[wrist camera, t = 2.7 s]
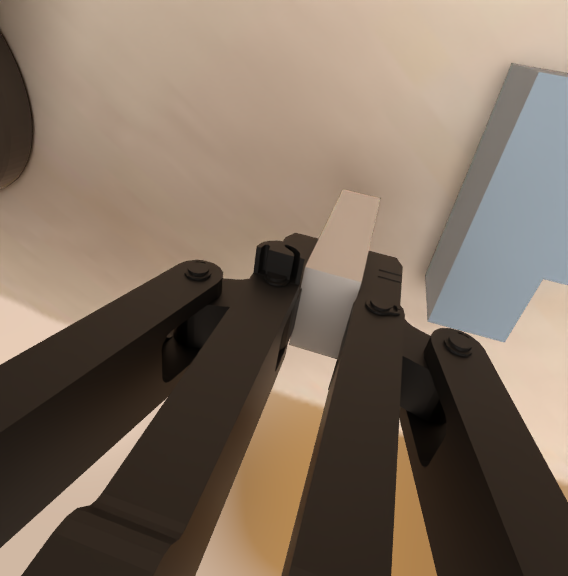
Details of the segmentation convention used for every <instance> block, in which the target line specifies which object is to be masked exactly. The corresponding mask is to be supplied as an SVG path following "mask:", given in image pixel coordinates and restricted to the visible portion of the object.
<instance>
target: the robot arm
mask: <svg viewBox="0 0 568 576" xmlns="http://www.w3.org/2000/svg"><path fill="white" fill-rule="evenodd" d="M31 143H32V120H31V112H30V106H29V101H28V97H27V93H26V90H25V86H24V83H23V80H22V77H21V74H20V72H19V69H18V67H17V64H16V62H15V60H14V58H13V56H12V54H11V52H10V50H9V48H8V46H7V44H6V42H5V40H4V38H3V37H2V35H1V33H0V189H2V188H4V187H6V186H8V185H10V184H11V183H12V182H14V181H15V180H16V179H17V178H18V177H19V175H20V174H21V173H22V171H23V169H24V168H25V166H26V163H27V161H28V158H29V154H30V150H31ZM380 199H381V198H378V197H374V196H370V195H366V194H361V193H357V192H353V191H349V190H345V189H343V190H342V192H341V194H340V196H339V198H338V200H337V203H336V205H335V207H334V209H333V211H332V213H331V215H330V217H329V219H328V221H327V223H326V225H325V227H324V229H323V231H322V233H321V235H320V237H319V239H317V238H313V237H310V236H306V235H302V234H298V233H294V234H292V235H290V236H287V237H286V238H285V239H284V241H267V242H263V243H261V244H259V245H258V246H257V249H256V257H255V265H254V273H253V274H252V276H251V277H250V278H249V279H244V280H235V279H223V272H222V270H221V268H220V267H218V266H217V265H215V264H214V263H211V262H207V261H203V260H192V261H186V262H183V263H180V264H178V265H176V266H175V267H173V268H171V269H169V270H167V271H166V272H164V273H162V274H160V275H159V276H157V277H155V278H153V279H152V280H150V281H148V282H146V283H144V284H143V285H141V286H139V287H137V288H136V289H134V290H132V291H130V292H129V293H127V294H125V295H123V296H121V297H120V298H118V299H116V300H114V301H113V302H111V303H109V304H107V305H105V306H104V307H102V308H100V309H98V310H97V311H95V312H93V313H91V314H90V315H88V316H86V317H84V318H82V319H81V320H79V321H77V322H75V323H74V324H72V325H70V326H68V327H67V328H65V329H63V330H61V331H60V332H58V333H56V334H54V335H52V336H51V337H49V338H47V339H46V340H44V341H42V342H40V343H38V344H37V345H35V346H33V347H31V348H29V349H28V350H26V351H24V352H22V353H20V354H19V355H17V356H15V357H13V358H12V359H10V360H8V361H6V362H5V363H3V364H1V365H0V548H1V547H2V546H3V545H4V544H5V543H6V542H7V541H9V540H10V539H11V538H12V537H13V536H14V535H15V534H16V533H17V532H19V531H20V530H21V529H22V528H23V527H24V526H25V525H26V524H27V523H29V522H30V521H31V520H32V519H33V518H34V517H35V516H36V515H37V514H38V513H40V512H41V511H42V510H43V509H44V508H45V507H46V506H47V505H48V504H50V503H51V502H52V501H53V500H54V499H55V498H56V497H57V496H58V495H60V494H61V493H62V492H63V491H64V490H65V489H66V488H67V487H68V486H70V484H72V483H73V482H74V481H75V480H76V479H77V478H78V477H79V476H81V475H82V474H83V473H84V472H85V471H86V470H87V469H88V468H90V467H91V466H92V465H93V464H94V463H95V462H96V461H97V460H98V459H99V458H100V457H102V456H103V455H104V454H105V453H106V452H107V451H108V450H109V449H110V448H112V447H113V446H114V445H115V444H116V443H117V442H118V441H119V440H121V438H123V437H124V436H125V435H126V434H127V433H128V432H129V431H131V430H132V429H133V428H134V427H135V426H136V425H137V424H138V423H139V422H141V421H142V420H143V419H144V418H145V417H146V416H147V415H148V414H149V413H151V412H152V411H153V410H154V409H155V408H156V407H157V406H158V405H159V404H160V403H162V402H163V401H164V400H165V399H166V398H167V397H168V398H167V399H166V401H165V402H164V404H163V405H162V406H161V408H160V409H159V411H158V412H157V414H156V415H155V417H154V418H153V420H152V421H151V422H150V424H149V425H148V427H147V429H146V430H145V431H144V433H143V434H142V436H141V437H140V439H139V440H138V441H137V443H136V444H135V446H134V447H133V449H132V450H131V452H130V453H129V455H128V456H127V458H126V459H125V460H124V462H123V463H122V465H121V466H120V468H119V469H118V471H117V472H116V474H115V475H114V476H113V478H112V479H111V481H110V482H109V484H108V485H107V487H106V488H105V490H104V491H103V492H102V494H101V495H100V496H99V498H98V499H97V500H96V501H95V502H93V503H92V504H91V505H90V506H85V507H80V508H77V509H76V510H74V511H73V512H72V513H71V514H69V515H68V516H67V517H66V518H65V519H64V520H63V521H62V522H61V524H60V525H59V526H58V527H57V528H56V529H55V531H54V532H53V533H52V535H51V536H50V537H49V539H48V540H47V541H46V543H45V544H44V546H43V547H42V548H41V549H40V551H39V552H38V554H37V555H36V556H35V558H34V559H33V560H32V562H31V563H30V564H29V566H28V567H27V569H26V570H25V571H24V573H23V574H22V575H21V576H195V575H196V572H197V570H198V568H199V565H200V563H201V560H202V558H203V555H204V553H205V550H206V548H207V546H208V543H209V541H210V538H211V536H212V533H213V531H214V528H215V526H216V523H217V521H218V519H219V516H220V514H221V511H222V509H223V507H224V504H225V501H226V499H227V497H228V494H229V492H230V489H231V487H232V485H233V482H234V479H235V477H236V475H237V472H238V470H239V467H240V465H241V462H242V460H243V457H244V455H245V453H246V450H247V448H248V445H249V443H250V441H251V438H252V436H253V433H254V431H255V428H256V426H257V424H258V421H259V418H260V416H261V413H262V411H263V409H264V406H265V404H266V401H267V399H268V396H269V394H270V392H271V389H272V387H273V384H274V382H275V380H276V377H277V375H278V372H279V370H280V367H281V365H282V362H283V360H284V358H285V354H286V349H287V344H288V341H289V339H290V343H289V345H292V346H295V347H299V348H302V349H305V350H309V351H312V352H315V353H318V354H322V355H325V356H328V357H332V358H335V359H337V362H336V365H335V368H334V372H333V375H332V378H331V382H330V385H329V388H328V390H329V391H328V395H327V399H326V403H325V407H324V411H323V415H322V419H321V423H320V427H319V431H318V434H317V439H316V443H315V446H314V450H313V454H312V458H311V462H310V466H309V470H308V474H307V478H306V482H305V486H304V489H303V493H302V497H301V501H300V505H299V509H298V513H297V517H296V521H295V525H294V529H293V532H292V536H291V541H290V544H289V548H288V552H287V556H286V560H285V564H284V568H283V572H282V576H391V567H392V547H393V528H394V510H395V509H394V508H395V490H396V471H397V452H398V433H399V418H400V422H401V427H402V431H403V435H404V439H405V443H406V447H407V451H408V455H409V460H410V464H411V468H412V472H413V476H414V481H415V485H416V489H417V493H418V497H419V501H420V505H421V509H422V514H423V518H424V522H425V526H426V531H427V535H428V539H429V543H430V547H431V551H432V555H433V560H434V564H435V568H436V572H437V576H568V502H567V500H566V498H565V496H564V495H563V493H562V491H561V489H560V487H559V485H558V483H557V482H556V480H555V478H554V476H553V474H552V472H551V470H550V469H549V467H548V465H547V463H546V461H545V459H544V458H543V456H542V454H541V452H540V450H539V448H538V447H537V445H536V443H535V441H534V439H533V437H532V436H531V434H530V432H529V430H528V428H527V426H526V425H525V423H524V421H523V419H522V417H521V415H520V414H519V412H518V410H517V408H516V406H515V404H514V403H513V401H512V399H511V397H510V395H509V393H508V392H507V390H506V388H505V386H504V384H503V382H502V381H501V379H500V377H499V375H498V373H497V371H496V370H495V368H494V366H493V364H492V362H491V360H490V359H489V357H488V355H487V353H486V351H485V349H484V348H483V347H482V346H481V344H480V343H479V342H478V341H476V340H475V339H474V338H473V337H471V336H470V335H468V334H466V333H464V332H461V331H459V330H454V329H451V328H440V329H437V330H435V331H434V332H433V333H432V335H431V336H430V335H428V334H426V333H424V332H422V331H420V330H418V329H416V328H415V327H413V326H412V325H410V324H409V323H408V322H407V321H406V320H405V319H404V317H405V314H404V310H403V308H402V307H401V306H400V299H401V282H402V268H403V267H402V265H401V264H400V262H399V261H398V259H397V258H395V257H391V256H387V255H383V254H379V253H375V252H371V251H369V247H370V243H371V238H372V234H373V230H374V225H375V221H376V217H377V212H378V208H379V203H380ZM290 337H291V338H290Z"/></svg>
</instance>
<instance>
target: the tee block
mask: <svg viewBox="0 0 568 576" xmlns="http://www.w3.org/2000/svg"><path fill="white" fill-rule="evenodd" d="M543 279H545V280H549V281H553V282H557V283H561V284H565V285H568V73H563V72H558V71H552V70H547V69H541V68H536V67H530V66H525V65H519V64H514V63H512V64H511V66H510V69H509V71H508V74H507V76H506V79H505V81H504V83H503V86H502V88H501V91H500V93H499V96H498V98H497V101H496V103H495V105H494V108H493V110H492V113H491V115H490V118H489V120H488V123H487V125H486V128H485V130H484V132H483V135H482V137H481V140H480V142H479V145H478V147H477V150H476V152H475V155H474V157H473V159H472V162H471V164H470V167H469V169H468V172H467V174H466V177H465V179H464V182H463V184H462V186H461V189H460V191H459V194H458V196H457V199H456V201H455V204H454V206H453V209H452V211H451V213H450V216H449V218H448V221H447V223H446V226H445V228H444V231H443V233H442V235H441V238H440V240H439V243H438V245H437V248H436V250H435V253H434V255H433V258H432V260H431V262H430V265H429V267H428V270H427V272H426V275H425V282H426V300H427V318H428V322H431V323H435V324H439V325H442V326H446V327H450V328H453V329H457V330H461V331H464V332H468V333H472V334H475V335H479V336H483V337H487V338H490V339H494V340H498V341H501V342H505V341H506V339H507V338H508V336H509V334H510V333H511V331H512V329H513V328H514V326H515V324H516V323H517V321H518V319H519V318H520V316H521V315H522V313H523V311H524V310H525V308H526V306H527V305H528V303H529V301H530V300H531V298H532V296H533V295H534V293H535V291H536V290H537V288H538V286H539V285H540V283H541V282H542V280H543Z"/></svg>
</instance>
